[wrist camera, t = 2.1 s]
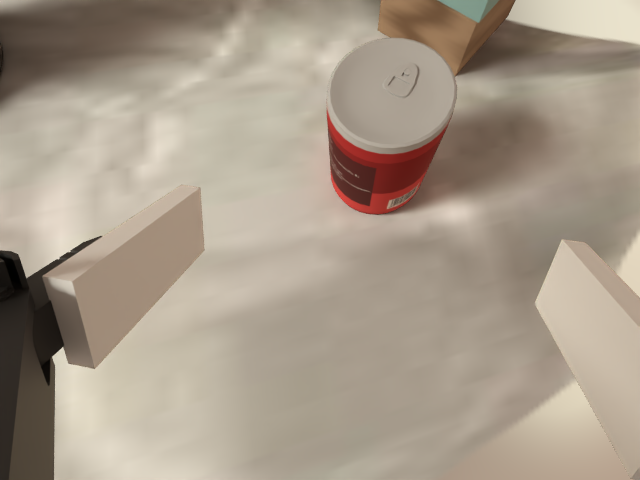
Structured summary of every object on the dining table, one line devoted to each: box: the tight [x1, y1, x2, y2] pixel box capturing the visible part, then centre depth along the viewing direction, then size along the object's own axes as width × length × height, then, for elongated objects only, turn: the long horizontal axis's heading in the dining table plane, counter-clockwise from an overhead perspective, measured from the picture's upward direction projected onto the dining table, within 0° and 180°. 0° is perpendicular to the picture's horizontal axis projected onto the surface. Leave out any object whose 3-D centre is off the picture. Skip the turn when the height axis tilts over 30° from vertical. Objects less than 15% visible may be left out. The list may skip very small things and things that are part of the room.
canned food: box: [326, 38, 457, 214], centre depth 28 cm, size 8×8×11 cm
